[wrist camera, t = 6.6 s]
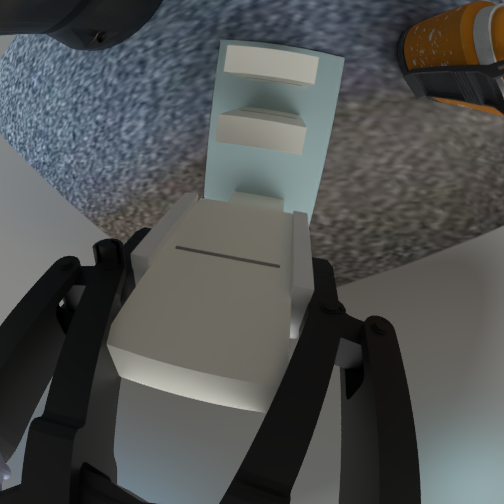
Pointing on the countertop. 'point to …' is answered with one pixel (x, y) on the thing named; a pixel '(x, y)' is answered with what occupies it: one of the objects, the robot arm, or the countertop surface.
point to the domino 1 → (213, 309)
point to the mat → (264, 160)
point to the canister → (457, 57)
